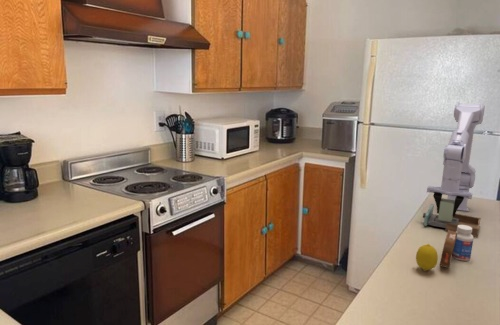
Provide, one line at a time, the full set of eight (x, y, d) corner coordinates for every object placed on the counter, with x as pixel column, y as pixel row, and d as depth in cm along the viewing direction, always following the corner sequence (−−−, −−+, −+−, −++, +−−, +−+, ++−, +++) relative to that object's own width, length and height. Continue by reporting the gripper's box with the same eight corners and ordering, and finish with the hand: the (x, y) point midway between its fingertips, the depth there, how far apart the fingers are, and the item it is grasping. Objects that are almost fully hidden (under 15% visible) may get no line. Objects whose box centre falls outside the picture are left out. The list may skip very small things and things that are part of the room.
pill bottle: (461, 262, 116) (466, 231, 114) (446, 255, 121) (450, 225, 119) (474, 259, 118) (479, 229, 116) (458, 251, 123) (462, 222, 121)
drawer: (427, 213, 155) (428, 203, 154) (459, 219, 149) (460, 209, 148) (420, 224, 143) (421, 214, 142) (455, 232, 137) (456, 221, 136)
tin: (444, 250, 124) (447, 225, 122) (455, 252, 122) (458, 227, 120) (438, 270, 111) (441, 243, 109) (450, 273, 110) (454, 245, 108)
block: (439, 216, 147) (442, 198, 145) (452, 218, 144) (455, 200, 143) (437, 219, 143) (440, 201, 141) (451, 222, 141) (454, 203, 139)
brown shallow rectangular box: (449, 220, 150) (450, 212, 150) (479, 226, 145) (480, 218, 144) (444, 231, 140) (446, 223, 139) (477, 237, 134) (478, 229, 134)
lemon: (411, 270, 111) (414, 244, 109) (419, 264, 115) (422, 238, 113) (431, 277, 107) (434, 250, 106) (438, 270, 111) (442, 244, 109)
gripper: (427, 177, 141) (422, 213, 144) (473, 184, 133) (467, 221, 136) (430, 173, 146) (426, 207, 150) (474, 179, 139) (469, 215, 142)
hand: (446, 214), depth 143 cm, fingers closed on block, 4 cm apart
